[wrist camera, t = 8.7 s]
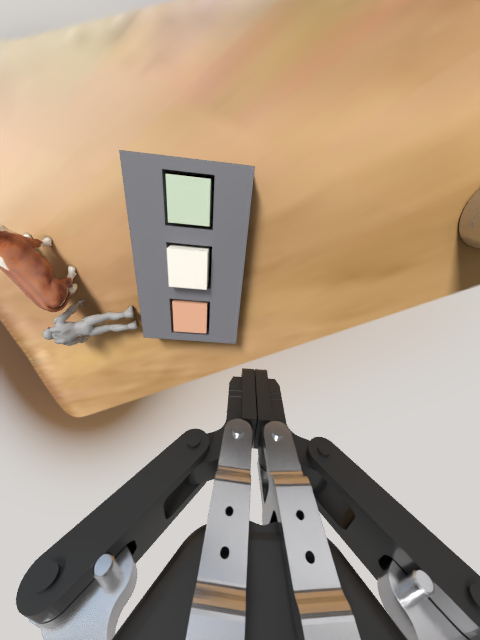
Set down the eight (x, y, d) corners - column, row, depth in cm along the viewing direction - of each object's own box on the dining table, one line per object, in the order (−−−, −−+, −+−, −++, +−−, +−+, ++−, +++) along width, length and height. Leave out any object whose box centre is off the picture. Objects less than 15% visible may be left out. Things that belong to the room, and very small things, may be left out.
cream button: (210, 246, 29) (207, 252, 27) (208, 282, 32) (206, 289, 29) (172, 243, 29) (166, 248, 27) (174, 279, 31) (168, 286, 29)
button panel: (252, 169, 27) (254, 166, 24) (235, 330, 39) (235, 343, 35) (134, 155, 27) (119, 150, 23) (152, 324, 38) (143, 337, 34)
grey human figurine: (130, 291, 37) (43, 303, 34) (129, 304, 33) (29, 319, 29) (139, 324, 41) (60, 339, 37) (139, 340, 36) (50, 358, 32)
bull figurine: (30, 195, 28) (-39, 196, 21) (93, 291, 35) (57, 316, 28) (1, 207, 29) (-75, 211, 22) (69, 299, 35) (27, 325, 28)
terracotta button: (209, 296, 34) (207, 304, 32) (208, 323, 36) (206, 333, 34) (177, 293, 34) (172, 301, 31) (178, 321, 36) (173, 331, 34)
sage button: (213, 180, 27) (210, 178, 24) (211, 223, 29) (209, 226, 27) (172, 175, 27) (165, 173, 24) (174, 219, 29) (168, 222, 26)
